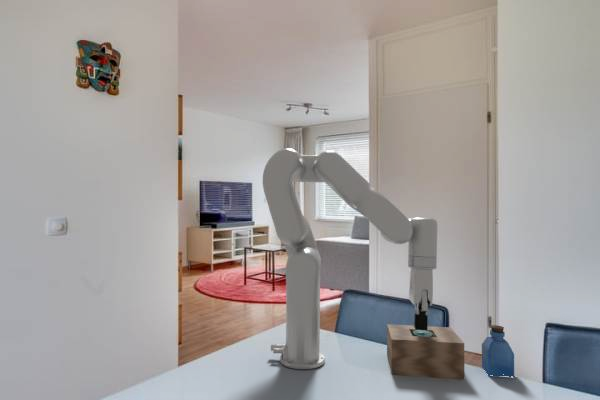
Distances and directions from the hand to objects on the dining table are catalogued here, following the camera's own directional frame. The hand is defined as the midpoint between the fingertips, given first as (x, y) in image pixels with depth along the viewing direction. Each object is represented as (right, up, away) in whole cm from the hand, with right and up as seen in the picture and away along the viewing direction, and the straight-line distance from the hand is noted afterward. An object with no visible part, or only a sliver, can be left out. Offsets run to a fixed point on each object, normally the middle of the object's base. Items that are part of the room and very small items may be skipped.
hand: (420, 329), depth 106 cm
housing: (0, -10, 0) cm, 10 cm away
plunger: (0, -10, 0) cm, 10 cm away
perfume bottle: (+19, -10, -4) cm, 22 cm away
